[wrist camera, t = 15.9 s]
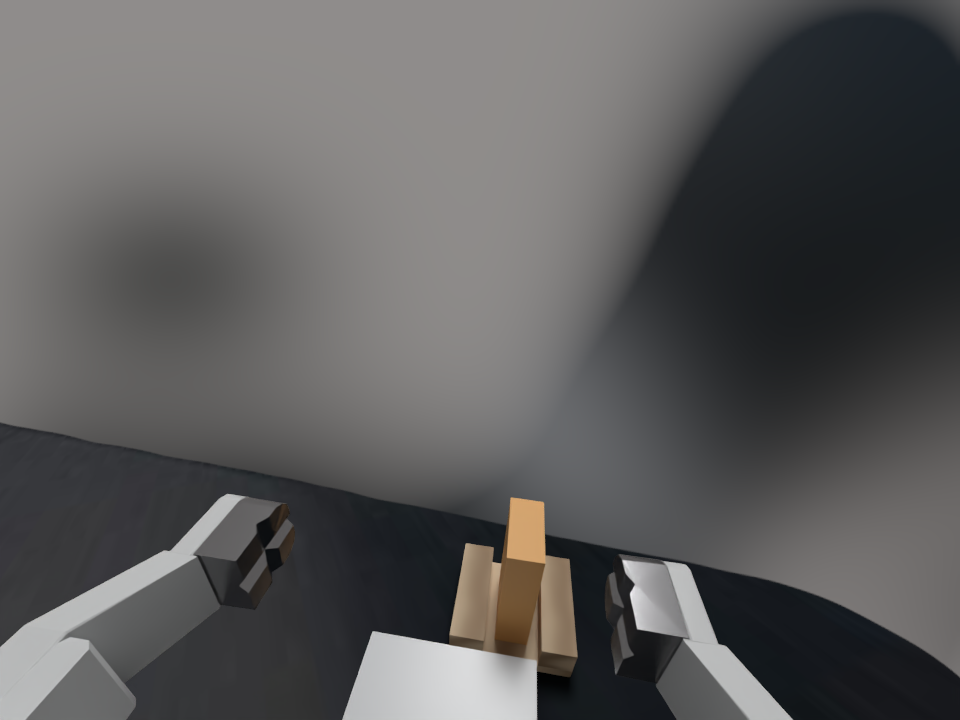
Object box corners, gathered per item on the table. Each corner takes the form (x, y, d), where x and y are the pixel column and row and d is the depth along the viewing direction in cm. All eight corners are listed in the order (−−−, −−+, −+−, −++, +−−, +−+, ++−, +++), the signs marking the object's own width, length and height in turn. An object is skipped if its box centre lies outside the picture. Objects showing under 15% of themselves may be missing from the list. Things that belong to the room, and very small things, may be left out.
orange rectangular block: (494, 639, 35) (506, 557, 30) (499, 577, 41) (510, 497, 35) (526, 645, 35) (545, 563, 29) (527, 581, 40) (543, 502, 35)
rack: (448, 655, 35) (449, 634, 33) (464, 563, 43) (466, 543, 41) (570, 677, 34) (577, 657, 32) (563, 579, 42) (569, 559, 40)
